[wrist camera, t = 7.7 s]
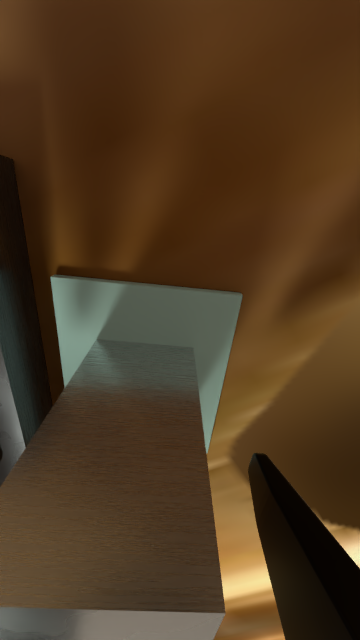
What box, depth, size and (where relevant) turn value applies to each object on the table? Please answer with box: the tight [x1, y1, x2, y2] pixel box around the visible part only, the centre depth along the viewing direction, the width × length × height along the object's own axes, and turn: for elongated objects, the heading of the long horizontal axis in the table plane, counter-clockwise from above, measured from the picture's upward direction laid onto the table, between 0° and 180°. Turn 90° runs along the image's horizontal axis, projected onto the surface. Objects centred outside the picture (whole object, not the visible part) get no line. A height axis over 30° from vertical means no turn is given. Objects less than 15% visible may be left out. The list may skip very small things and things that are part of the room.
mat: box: [50, 275, 243, 453], centre depth 12 cm, size 10×8×1 cm
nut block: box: [0, 339, 225, 640], centre depth 8 cm, size 4×4×8 cm
